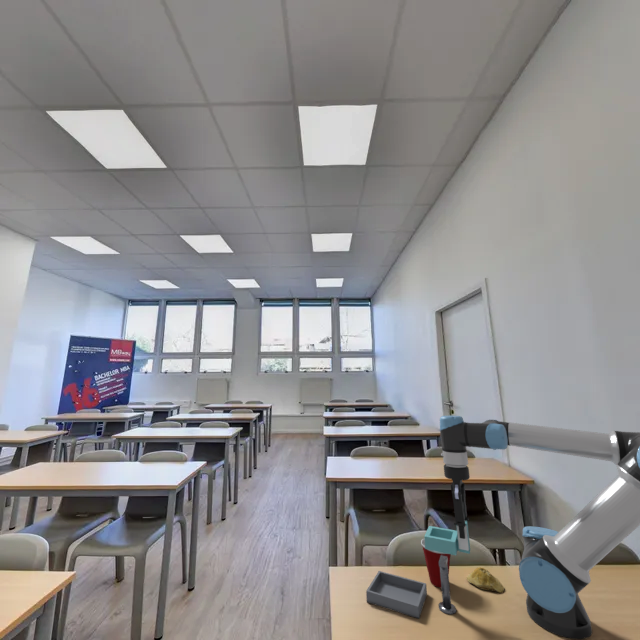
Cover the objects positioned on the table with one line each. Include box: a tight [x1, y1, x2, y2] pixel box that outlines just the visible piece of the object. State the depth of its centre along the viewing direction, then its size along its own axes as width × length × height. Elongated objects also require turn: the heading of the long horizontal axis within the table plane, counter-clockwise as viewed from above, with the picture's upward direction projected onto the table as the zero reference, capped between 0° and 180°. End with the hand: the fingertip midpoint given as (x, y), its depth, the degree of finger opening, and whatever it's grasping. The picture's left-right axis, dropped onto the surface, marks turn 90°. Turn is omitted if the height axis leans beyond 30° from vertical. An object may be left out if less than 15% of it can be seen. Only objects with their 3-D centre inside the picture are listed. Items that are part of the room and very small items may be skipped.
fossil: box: [466, 566, 505, 594], centre depth 107 cm, size 11×6×10 cm
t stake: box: [438, 555, 457, 616], centre depth 96 cm, size 5×5×13 cm
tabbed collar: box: [423, 520, 471, 556], centre depth 98 cm, size 12×9×8 cm
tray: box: [365, 570, 428, 620], centre depth 100 cm, size 16×13×3 cm
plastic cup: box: [420, 538, 451, 589], centre depth 109 cm, size 11×11×12 cm
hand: (464, 546), depth 95 cm, fingers closed on tabbed collar, 3 cm apart
